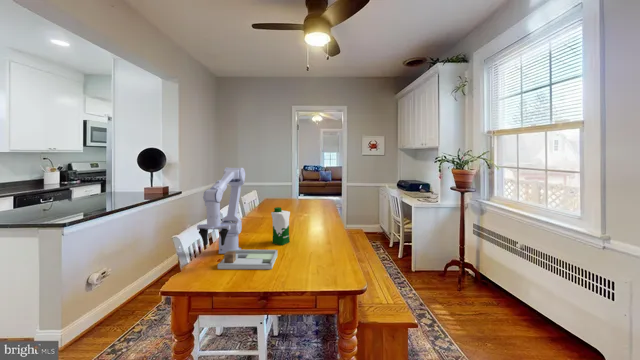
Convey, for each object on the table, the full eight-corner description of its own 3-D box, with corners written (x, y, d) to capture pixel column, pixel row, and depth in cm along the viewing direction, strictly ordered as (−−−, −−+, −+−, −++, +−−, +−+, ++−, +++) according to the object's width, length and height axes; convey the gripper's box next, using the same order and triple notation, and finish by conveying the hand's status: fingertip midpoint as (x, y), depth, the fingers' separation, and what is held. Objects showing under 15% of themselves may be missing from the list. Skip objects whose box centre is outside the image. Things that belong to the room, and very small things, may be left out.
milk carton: (280, 239, 166) (279, 206, 164) (292, 242, 161) (291, 207, 159) (270, 243, 158) (269, 208, 156) (282, 246, 154) (282, 210, 152)
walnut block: (224, 263, 127) (224, 254, 126) (227, 259, 131) (227, 251, 130) (233, 263, 127) (232, 254, 126) (235, 259, 131) (235, 251, 130)
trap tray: (217, 268, 124) (217, 262, 124) (229, 255, 140) (229, 249, 140) (271, 269, 124) (271, 262, 124) (277, 255, 140) (277, 249, 140)
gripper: (193, 217, 123) (194, 247, 124) (226, 217, 122) (227, 247, 124) (200, 214, 130) (201, 242, 131) (231, 214, 129) (232, 242, 131)
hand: (214, 244), depth 128 cm, fingers open, 7 cm apart
